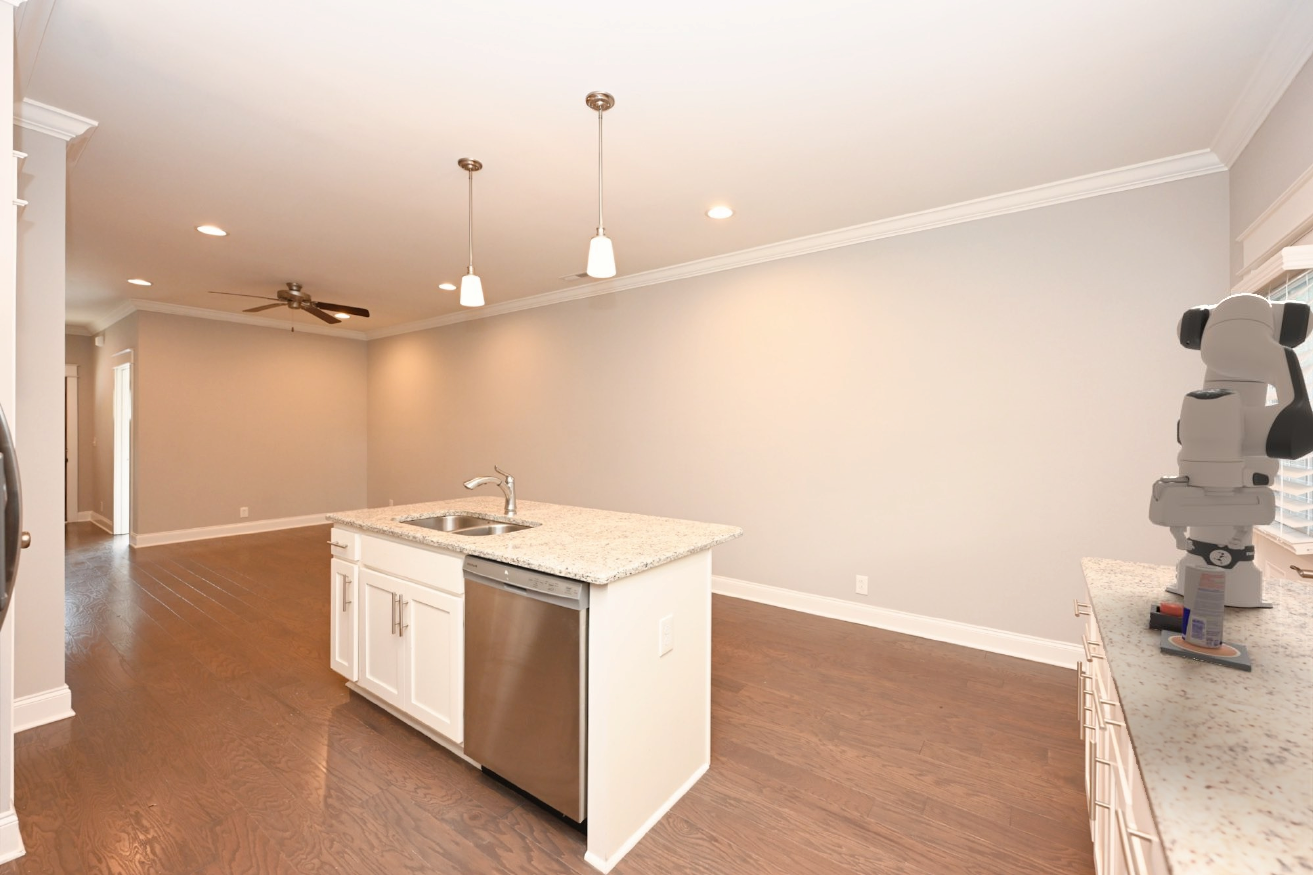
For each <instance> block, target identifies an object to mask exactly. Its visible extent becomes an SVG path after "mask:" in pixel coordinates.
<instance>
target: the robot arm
mask: <svg viewBox="0 0 1313 875" xmlns="http://www.w3.org/2000/svg"><path fill="white" fill-rule="evenodd" d="M1312 332H1313V311H1312V310H1311V306H1310V305H1309V304H1308V303H1307V302H1305V301H1298V300H1297V301H1296V300H1289V299H1288V300H1284V301H1275V300H1274V301H1273V300H1272V301H1271V300H1268V299H1266V298H1265V297H1263V296H1261V295H1257V294H1255V293H1254V294H1252V293H1241V294H1240V293H1239V294H1235V295H1231V296H1228V297H1226V298H1225V299H1222V300H1221V301H1220V302H1219V303H1218V304H1214V305H1209V306H1208V305H1207V304H1203V305H1199V306H1194V307H1191V308H1189V309H1187V310H1186V311H1185V312H1183V314H1182V316H1181V317H1180V319H1179V320H1178V323H1177V326H1176V335H1177V339H1178V340H1179V343H1180V345H1181V346H1182V347H1183V348H1185V349H1188V350H1193V351H1200V357H1201V360H1202V362H1203V363H1204V364H1205V366H1206V369H1205V372H1204V373H1205V374H1204V380H1203V385H1202V389H1201V390H1199V389H1197V390H1194V391H1191V392H1189V393H1186V394H1185V395H1184V397H1183V400H1182V404H1181V410H1180V414H1179V415H1180V417H1179V419H1178V420H1177V422H1176V442H1177V443H1178V444H1179V445H1181V449H1179V452H1178V453H1177V457H1176V464H1177V466H1178V476H1161V477H1160V478H1159V479H1158V480H1156V481H1155V482H1153V483H1152V489H1151V490H1152V493H1151V496H1150V501H1149V509H1148V519H1149V521H1150V522H1151V524H1153V525H1156V526H1160V527H1163V528H1164V527H1165V528H1169V531H1170V533H1171V534H1172V536H1173V538H1174V540H1175V545H1176V549H1177V550H1181V551H1186V552H1187V553H1186V554H1185V555H1184V556H1182V557H1181V558H1180V559H1178V560H1177V562H1176V565H1175V572H1176V574H1175V580H1174V581H1173V582H1171V583H1169V584H1168V585H1166V587H1165V590H1166V591H1167V592H1170V593H1175V594H1177V595H1181V596H1182V597H1184V584H1185V568H1186V564H1189V563H1194V564H1205V565H1212V566H1217V567H1221V568H1224V569H1225V570H1226V571H1225V574H1226V582H1225V601H1224V606H1227V607H1228V606H1229V607H1238V608H1258V607H1259V608H1273V607H1274V605H1273V604H1274V603H1273V602H1272V601H1271V600H1269V599H1268V598H1266V597H1265V596H1263V570H1261V568H1259V567H1258V566H1257V565H1256V564H1255V563H1254V562H1253V561H1254V560H1255V555H1256V550H1255V545H1254V544H1253V536H1254V535H1253V534H1254V526H1270V525H1271V524H1273V522H1274V521H1275V519H1276V512H1277V511H1276V510H1277V508H1276V494H1275V492H1274V490H1273V489H1272V488H1270V487H1272V486H1274V484H1275V477H1277V474H1278V473H1279V470H1280V462H1279V460H1287V461H1289V460H1290V461H1296V460H1299V459H1302V458H1303V457H1305V456H1307V455H1309V454H1311V453H1312V452H1313V408H1312V405H1311V401H1310V398H1309V393H1308V389H1307V385H1306V382H1305V377H1304V373H1303V369H1302V367H1301V363H1300V360H1299V357H1298V355H1297V354H1296V352H1295V350H1294V349H1295V348H1297V347H1299V346H1300V345H1301V344H1302V345H1303V343H1305V342H1306V339H1308V337H1309V336H1310V334H1311V333H1312ZM1269 385H1271V386H1272V387H1274V388H1275V393H1276V399H1277V403H1276V404H1272V405H1271V404H1270V405H1266V402H1267V394H1268V386H1269ZM1188 527H1189V536H1188V537H1186V535H1185V533H1187V532H1188V530H1187V529H1188Z"/></svg>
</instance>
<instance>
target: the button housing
mask: <svg viewBox="0 0 1313 875" xmlns="http://www.w3.org/2000/svg"><path fill="white" fill-rule="evenodd" d="M1182 625H1183V617H1181V616H1175V615H1169V614H1164V613H1160V605H1157V604H1153V603H1152V604H1151V605H1150V611H1149V629H1151V630H1154V629H1157V630H1156V631H1159V630H1160V631H1159V632H1162V630H1167V631H1172V632H1177V633H1182Z"/></svg>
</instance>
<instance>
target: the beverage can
mask: <svg viewBox="0 0 1313 875" xmlns="http://www.w3.org/2000/svg"><path fill="white" fill-rule="evenodd" d="M1225 571H1226V570H1225V569H1224V568H1221V567H1217V566H1212V565H1205V564H1194V563H1189V564H1186V568H1185V584H1184V596H1183V605H1182V606H1183V625H1182V639H1183V640H1184V641H1186V642H1188V643H1190V644H1192V645H1195V646H1199V647H1203V648H1212V649H1214V648H1220V647H1222V641H1223V635H1224V634H1223V633H1224V620H1225V619H1224V617H1225V616H1224V615H1225V605H1224V601H1225V582H1226V574H1225Z"/></svg>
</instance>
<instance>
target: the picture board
mask: <svg viewBox="0 0 1313 875" xmlns="http://www.w3.org/2000/svg"><path fill="white" fill-rule="evenodd" d="M1160 635H1161V637H1160V648H1159V649H1160V650H1159V652H1160V653H1164V654H1170V655H1172V654H1174V655H1173V656H1177V655H1178V656H1179V657H1182V656H1185V657H1184V658H1186V657H1188V658H1187V659H1191V658H1195V659H1194V660H1196V659H1197V661H1200V660H1203V661H1202V662H1205V661H1207V662H1206V663H1210V662H1212V663H1211V664H1215V665H1219V664H1221V665H1220V666H1225V667H1230V668H1234V669H1238V670H1242V669H1243V670H1244V671H1248V672H1252V663H1251V660H1250V656H1249V653H1248V650H1247V646H1246V645H1243V644H1238V643H1232V642H1228V641H1223V640H1222V647H1220V648H1214V649H1212V648H1203V647H1199V646H1195V645H1192V644H1190V643H1188V642H1186V641H1184V640H1183V639H1182V633H1177V632H1172V631H1167V630H1162V631H1161V634H1160Z"/></svg>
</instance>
